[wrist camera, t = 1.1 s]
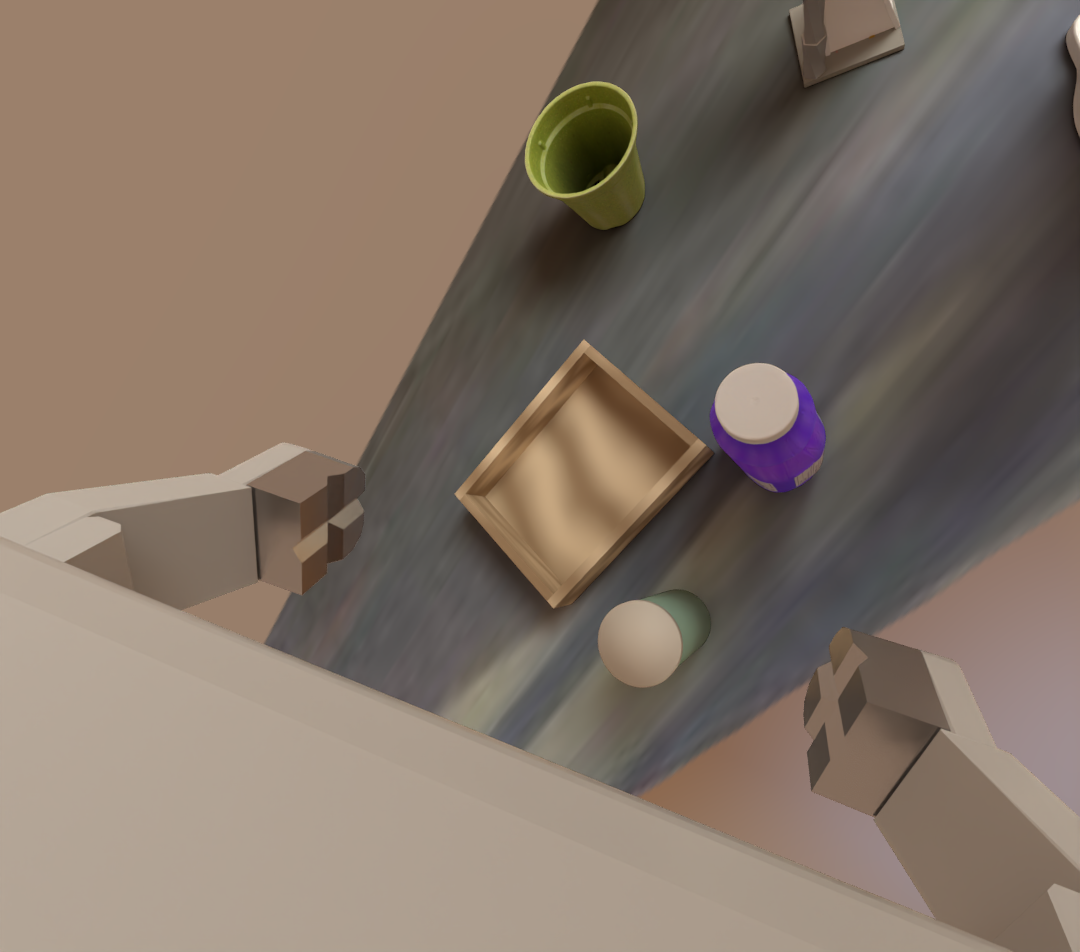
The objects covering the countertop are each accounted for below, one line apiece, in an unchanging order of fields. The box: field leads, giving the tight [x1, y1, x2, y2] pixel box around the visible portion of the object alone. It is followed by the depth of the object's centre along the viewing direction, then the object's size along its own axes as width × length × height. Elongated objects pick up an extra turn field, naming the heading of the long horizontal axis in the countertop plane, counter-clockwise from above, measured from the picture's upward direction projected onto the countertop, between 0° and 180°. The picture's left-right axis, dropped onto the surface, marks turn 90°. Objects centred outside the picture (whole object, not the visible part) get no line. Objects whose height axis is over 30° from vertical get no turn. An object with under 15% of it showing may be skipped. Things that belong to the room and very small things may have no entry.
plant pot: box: [525, 82, 645, 230], centre depth 50 cm, size 9×9×9 cm
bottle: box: [710, 363, 826, 492], centre depth 38 cm, size 7×6×17 cm
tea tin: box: [598, 590, 711, 687], centre depth 42 cm, size 5×5×12 cm
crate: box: [455, 340, 714, 609], centre depth 50 cm, size 18×14×4 cm
